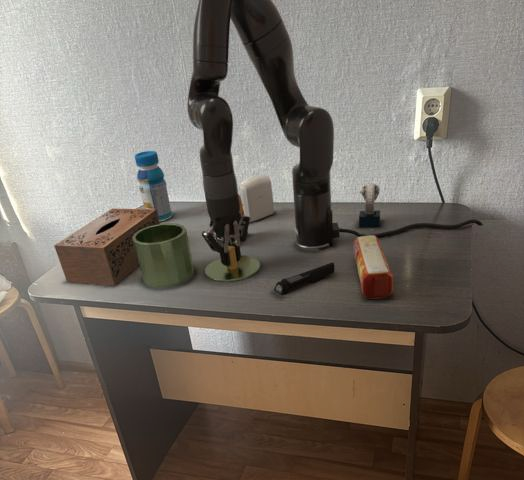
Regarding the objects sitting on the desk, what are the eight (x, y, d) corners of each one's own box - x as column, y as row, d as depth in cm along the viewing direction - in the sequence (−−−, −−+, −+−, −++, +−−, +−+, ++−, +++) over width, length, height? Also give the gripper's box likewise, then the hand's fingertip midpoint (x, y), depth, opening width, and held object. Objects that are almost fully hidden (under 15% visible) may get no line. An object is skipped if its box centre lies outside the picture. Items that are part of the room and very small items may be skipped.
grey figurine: (380, 218, 144) (381, 179, 138) (379, 229, 138) (380, 189, 132) (359, 219, 146) (360, 180, 139) (358, 230, 139) (358, 189, 133)
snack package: (352, 259, 125) (352, 232, 121) (380, 257, 124) (380, 230, 120) (361, 302, 107) (361, 272, 104) (393, 300, 107) (394, 270, 103)
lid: (260, 257, 131) (258, 234, 128) (260, 281, 120) (257, 257, 117) (208, 262, 132) (204, 239, 129) (202, 286, 121) (198, 262, 117)
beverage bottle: (170, 221, 160) (156, 155, 149) (144, 224, 161) (128, 158, 149) (174, 212, 167) (161, 148, 156) (149, 214, 168) (134, 151, 156)
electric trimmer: (338, 277, 118) (338, 264, 116) (282, 298, 112) (281, 285, 111) (328, 271, 121) (328, 259, 119) (273, 292, 115) (272, 279, 113)
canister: (196, 264, 132) (188, 221, 125) (191, 286, 121) (181, 241, 115) (149, 268, 133) (138, 226, 126) (139, 291, 122) (127, 246, 116)
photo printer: (249, 224, 152) (244, 182, 145) (241, 220, 154) (235, 179, 148) (276, 214, 156) (272, 172, 149) (267, 211, 159) (264, 170, 152)
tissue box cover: (121, 241, 150) (112, 208, 145) (164, 243, 146) (156, 209, 140) (67, 282, 131) (54, 245, 125) (114, 285, 126) (103, 247, 120)
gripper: (208, 204, 109) (220, 277, 119) (255, 185, 116) (262, 256, 126) (186, 199, 114) (200, 269, 123) (233, 181, 121) (242, 249, 131)
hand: (231, 262), depth 125 cm, fingers closed on lid, 2 cm apart
